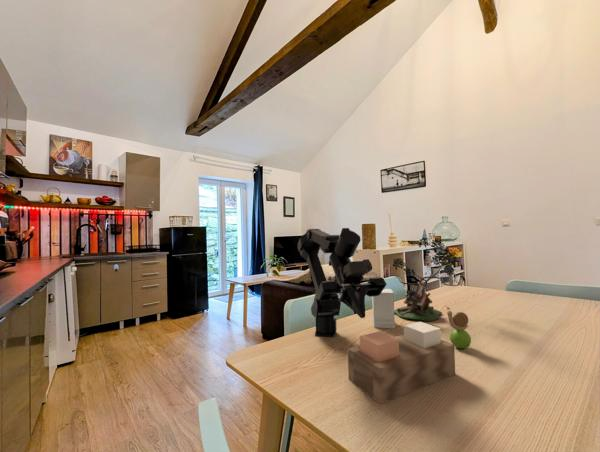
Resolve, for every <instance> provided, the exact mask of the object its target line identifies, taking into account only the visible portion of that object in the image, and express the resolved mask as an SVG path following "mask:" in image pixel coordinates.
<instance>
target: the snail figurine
mask: <svg viewBox="0 0 600 452" xmlns="http://www.w3.org/2000/svg"><path fill="white" fill-rule="evenodd" d="M446 310H447V311H446V314H447V316H448V321H449V325H450V326H451V328H453V329H452V330H451V332H450V333H449V340H450V343H451V344H454V347H455V348H456V349H457V348H458V349H466V348H469V347H470V345H471V343H472V338H471V335H470V334H469V333H468V331H466V329H467V328H468V327H469V325H468V323H469V317H468V315H467V314H466V313H465V312H463V311H462V312H461V311H457V312H456V313H454V315H453V311H451V308H450V307H448V306H446Z"/></svg>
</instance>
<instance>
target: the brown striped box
mask: <svg viewBox="0 0 600 452" xmlns="http://www.w3.org/2000/svg"><path fill="white" fill-rule="evenodd" d="M392 337H393V338H396V339H398V340H399V357H396V358H392V359H389V360H386V361H383V362H379V363H378V362H376V361H375V360H373V359H371V358H370V357H368V356H366V355H364V354H363V353H361V352H360V345H358V346H354V347H351V348H348V349H347V365H348V367H347V368H348V369H347V370H348V380H350V381H351V382H352V383H353V384H354V385H356V386H357V387H358V388H360V389H361V390H362V391H363V392H364V393H366V394H368V395H369V396H370V397H371V398H373V399H374V400H375V401H376V402H378V403H379V404H384V403H385V402H387V401H391V400H394V399H395V398H399V397H401V396H403V395H406V394H408V393H411V392H414V391H416V390H417V389H421V388H424V387H426V386H428V385H430V384H434V383H436V382H438V381H441V380H443V379H446V378H448V377H450V376H453V375H456V357H455V356H456V355H455V354H456V353H455V350H456V348H455V346H454V344H452V343H451V342H448V341H446V340H443V339H441V344H438V345H435V346H431V347H428V348H425V349H424V348H422V347H419V346H417V345H415V344H413V343H410V342H408V341H406V340H404V334H401V335H397V336H392Z"/></svg>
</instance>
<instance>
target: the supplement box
mask: <svg viewBox="0 0 600 452" xmlns="http://www.w3.org/2000/svg"><path fill="white" fill-rule="evenodd" d="M394 293H395V292H394V291H393V290H392V288H384V289H383V291H382V292H381V294H380V295H378V296H372V297H371V301H372V303H371V305H372V306H371V307H372V324H373V328H378V329H379V328H381V329H382V328H384V329H395V320H396V319H395V313H394V310H395V294H394Z"/></svg>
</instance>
